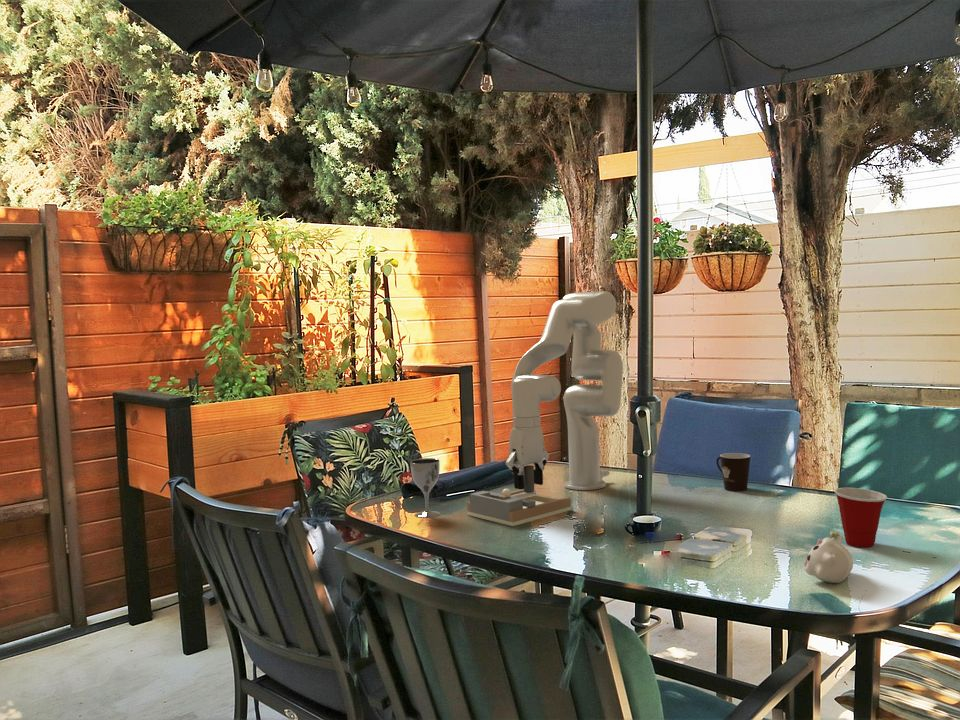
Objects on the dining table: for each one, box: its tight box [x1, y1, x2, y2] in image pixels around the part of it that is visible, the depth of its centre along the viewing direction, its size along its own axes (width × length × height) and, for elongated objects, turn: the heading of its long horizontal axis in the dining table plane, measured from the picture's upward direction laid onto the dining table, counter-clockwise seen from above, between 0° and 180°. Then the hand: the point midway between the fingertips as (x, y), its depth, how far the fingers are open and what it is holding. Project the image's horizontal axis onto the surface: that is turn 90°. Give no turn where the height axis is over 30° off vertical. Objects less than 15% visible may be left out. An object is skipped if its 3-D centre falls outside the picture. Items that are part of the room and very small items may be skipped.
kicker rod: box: [489, 464, 537, 507], centre depth 227 cm, size 12×18×11 cm, turn 41°
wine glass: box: [410, 457, 441, 519], centre depth 228 cm, size 8×8×15 cm
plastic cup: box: [834, 487, 888, 549], centre depth 186 cm, size 11×11×12 cm
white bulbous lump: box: [804, 530, 854, 584], centre depth 164 cm, size 10×8×15 cm
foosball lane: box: [466, 489, 572, 527], centre depth 227 cm, size 22×18×6 cm
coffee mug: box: [716, 452, 751, 493], centre depth 246 cm, size 12×9×10 cm
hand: (528, 485), depth 229 cm, fingers open, 6 cm apart
